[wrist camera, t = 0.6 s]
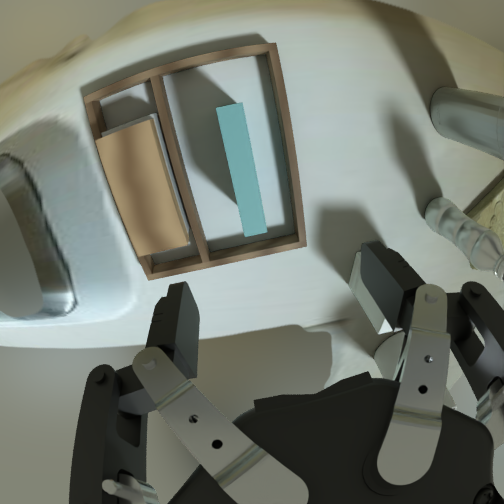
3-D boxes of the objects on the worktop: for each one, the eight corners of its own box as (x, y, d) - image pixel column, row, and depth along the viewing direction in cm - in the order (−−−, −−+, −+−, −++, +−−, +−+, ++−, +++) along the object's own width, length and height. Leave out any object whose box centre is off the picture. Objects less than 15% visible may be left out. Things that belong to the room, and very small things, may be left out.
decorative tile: (461, 216, 43) (472, 224, 40) (506, 171, 38) (517, 176, 35) (468, 270, 52) (476, 278, 49) (510, 227, 47) (518, 233, 44)
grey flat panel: (157, 112, 28) (153, 113, 26) (189, 226, 37) (188, 233, 35) (107, 131, 28) (101, 133, 27) (144, 238, 37) (140, 245, 35)
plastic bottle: (442, 223, 43) (511, 283, 26) (418, 228, 43) (489, 295, 26) (447, 192, 39) (525, 246, 22) (422, 195, 39) (504, 256, 22)
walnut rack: (272, 46, 26) (275, 42, 24) (302, 238, 41) (306, 246, 39) (91, 97, 26) (83, 97, 24) (151, 271, 41) (148, 280, 39)
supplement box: (347, 285, 47) (376, 335, 36) (355, 250, 43) (392, 298, 33) (380, 282, 48) (412, 327, 37) (390, 249, 44) (429, 292, 33)
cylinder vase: (377, 366, 65) (410, 440, 44) (369, 347, 59) (408, 433, 38) (415, 344, 63) (454, 413, 41) (411, 321, 57) (460, 400, 35)
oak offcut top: (153, 118, 27) (149, 119, 25) (189, 237, 35) (187, 245, 34) (101, 138, 27) (95, 140, 25) (141, 249, 35) (138, 256, 34)
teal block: (236, 103, 30) (242, 102, 22) (257, 203, 37) (267, 232, 30) (217, 107, 30) (215, 108, 22) (239, 206, 37) (244, 237, 30)
